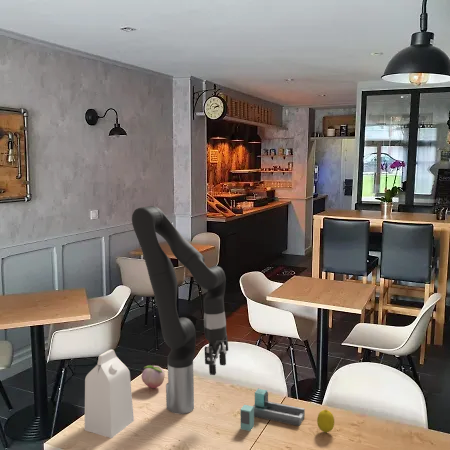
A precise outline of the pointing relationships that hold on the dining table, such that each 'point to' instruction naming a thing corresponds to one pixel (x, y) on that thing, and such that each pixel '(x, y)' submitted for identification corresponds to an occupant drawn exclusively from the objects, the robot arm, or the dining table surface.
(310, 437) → the dining table surface
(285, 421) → the rail
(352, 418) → the dining table surface
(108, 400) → the milk
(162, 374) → the decorative fruit
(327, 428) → the lemon
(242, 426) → the block
